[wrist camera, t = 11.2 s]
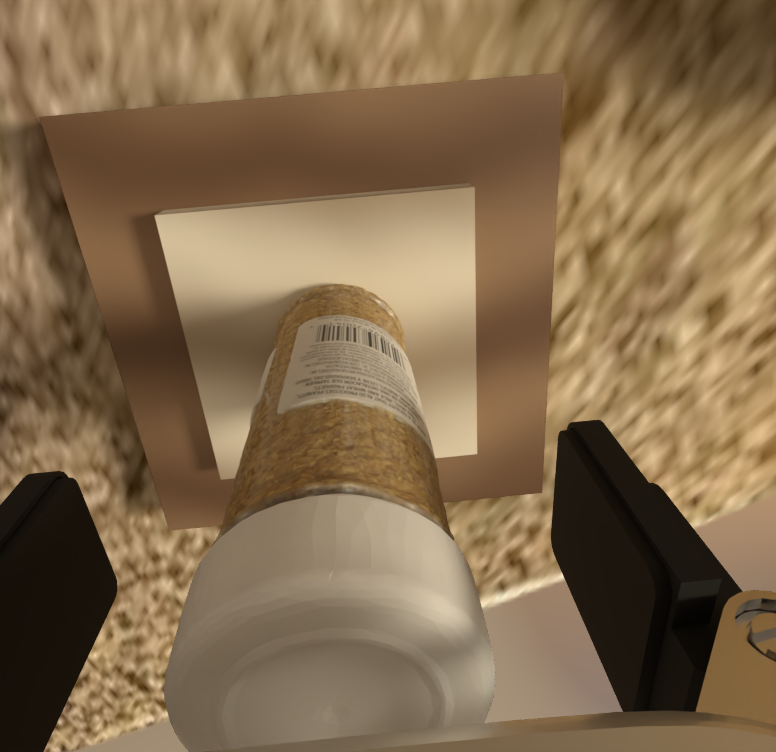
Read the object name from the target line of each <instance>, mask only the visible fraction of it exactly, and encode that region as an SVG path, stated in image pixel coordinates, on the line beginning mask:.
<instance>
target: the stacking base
mask: <svg viewBox="0 0 776 752" xmlns="http://www.w3.org/2000/svg"><path fill="white" fill-rule="evenodd" d="M563 78H564V73H552V74H541V75H529V76H517V77H505V78H493V79H482V80H470V81H458V82H446V83H434V84H423V85H411V86H399V87H387V88H375V89H364V90H352V91H340V92H328V93H316V94H304V95H293V96H281V97H269V98H257V99H245V100H234V101H222V102H210V103H198V104H186V105H175V106H163V107H151V108H139V109H127V110H116V111H104V112H92V113H80V114H68V115H57V116H45V117H39V118H40V121H41V124H42V127H43V130H44V134H45V137H46V140H47V143H48V146H49V149H50V153H51V156H52V159H53V162H54V165H55V168H56V172H57V175H58V178H59V181H60V184H61V188H62V191H63V194H64V197H65V200H66V203H67V207H68V210H69V213H70V216H71V219H72V223H73V226H74V229H75V232H76V235H77V238H78V242H79V245H80V248H81V251H82V254H83V257H84V261H85V264H86V267H87V270H88V273H89V277H90V280H91V283H92V286H93V289H94V292H95V296H96V299H97V302H98V305H99V308H100V312H101V315H102V318H103V321H104V324H105V327H106V331H107V334H108V337H109V340H110V343H111V346H112V350H113V353H114V356H115V359H116V362H117V366H118V369H119V372H120V375H121V378H122V381H123V385H124V388H125V391H126V394H127V397H128V401H129V404H130V407H131V410H132V413H133V416H134V420H135V423H136V426H137V429H138V432H139V435H140V439H141V442H142V445H143V448H144V451H145V455H146V458H147V461H148V464H149V467H150V470H151V474H152V477H153V480H154V483H155V486H156V490H157V493H158V496H159V499H160V502H161V505H162V509H163V512H164V515H165V518H166V521H167V524H168V528H169V531H171V530H180V529H190V528H200V527H210V526H220V525H222V524H223V519H224V515H225V512H226V508H227V506H228V502H229V499H230V496H231V493H232V488H233V483H234V480H235V476H236V473H237V470H238V467H239V464H240V459H241V456H242V453H243V449H244V446H245V443H246V440H247V437H248V433H249V430H250V419H251V414H252V410H253V406H254V403H255V400H256V396H257V393H258V390H259V386H260V383H261V380H262V376H263V373H264V370H265V367H266V364H267V361H268V359H269V357H270V355H271V353H272V352H273V341H274V336H275V333H276V329H277V326H278V322H279V320H280V318H281V316H282V315H283V313H284V312H285V310H286V309H287V307H288V306H289V305H290V303H291V302H292V301H294V300H295V299H296V298H298V297H300V296H301V295H303V294H305V293H307V292H309V291H310V290H311V289H314V288H319V287H322V286H326V285H331V284H345V285H353V286H357V287H361V288H363V289H365V290H366V291H369V292H372V293H374V294H375V295H377V296H378V297H379V298H380V299H382V300H384V301H385V302H386V303H387V304H388V305H389V306H390V307H391V309H392V310H393V311H394V312H395V314H396V316H397V317H398V319H399V321H400V323H401V326H402V329H403V332H404V341H405V354H406V356H407V358H408V360H409V362H410V365H411V368H412V371H413V375H414V379H415V383H416V386H417V390H418V394H419V397H420V401H421V405H422V409H423V412H424V416H425V420H426V424H427V428H428V432H429V436H430V440H431V444H432V448H433V451H434V455H435V459H436V463H437V468H438V476H439V486H440V491H441V494H442V498H443V503H446V502H456V501H465V500H475V499H485V498H495V497H505V496H514V495H524V494H534V493H542V484H543V464H544V445H545V426H546V406H547V387H548V368H549V349H550V329H551V310H552V291H553V271H554V252H555V233H556V214H557V194H558V175H559V156H560V136H561V117H562V98H563Z"/></svg>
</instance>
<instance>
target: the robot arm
mask: <svg viewBox="0 0 776 752" xmlns="http://www.w3.org/2000/svg"><path fill="white" fill-rule="evenodd" d="M551 543H552V548H553V552H554V555H555V557H556V560H557V562H558V564H559V566H560V569H561V571H562V573H563V576H564V578H565V580H566V582H567V585H568V587H569V589H570V591H571V594H572V596H573V599H574V601H575V603H576V605H577V608H578V610H579V612H580V615H581V617H582V619H583V621H584V624H585V626H586V628H587V630H588V633H589V635H590V637H591V640H592V642H593V644H594V646H595V649H596V651H597V653H598V656H599V658H600V660H601V663H602V664H603V667H604V669H605V672H606V674H607V676H608V679H609V681H610V683H611V685H612V688H613V690H614V692H615V695H616V697H617V699H618V701H619V704H620V706H621V708H622V710H623V712H612V713H601V714H587V715H575V716H562V717H550V718H538V719H525V720H513V721H503V722H492V723H482V724H472V725H462V726H452V727H441V728H431V729H421V730H411V731H400V732H390V733H380V734H370V735H360V736H350V737H340V738H331V739H321V740H311V741H301V742H292V743H282V744H272V745H262V746H253V747H243V748H234V749H224V750H215V751H205V752H776V593H775V592H771V591H760V590H751V591H745V592H742V590H741V589H740V588H739V587H738V585H737V584H736V583H735V581H734V580H733V579H732V578H731V576H730V575H729V574H728V572H727V571H726V570H725V569H724V567H723V566H722V565H721V564H720V562H719V561H718V560H717V558H716V557H715V556H714V555H713V553H712V552H711V551H710V549H709V548H708V547H707V546H706V544H705V543H704V542H703V540H702V539H701V538H700V537H699V535H698V534H697V533H696V532H695V530H694V529H693V528H692V526H691V525H690V524H689V523H688V521H687V520H686V519H685V517H684V516H683V515H682V514H681V512H680V511H679V510H678V508H677V507H676V506H675V505H674V503H673V502H672V501H671V500H670V498H669V497H668V496H667V494H666V493H665V492H664V491H663V490H662V489H661V488H660V487H659V486H658V485H657V484H654V483H649V482H648V481H647V480H646V478H645V477H644V476H643V474H642V473H641V472H640V470H639V469H638V468H637V466H636V465H635V464H634V463H633V461H632V460H631V459H630V457H629V456H628V455H627V453H626V452H625V451H624V449H623V448H622V447H621V445H620V444H619V443H618V441H617V440H616V439H615V438H614V436H613V435H612V434H611V432H610V431H609V430H608V428H607V427H606V426H605V424H604V423H603V422H602V421H601V420H591V421H581V422H571V423H570V424H569V425H568V427H567V430H565V431H560V433H559V436H558V447H557V461H556V474H555V488H554V501H553V515H552V528H551ZM116 594H117V579H116V576H115V574H114V571H113V569H112V566H111V564H110V561H109V559H108V557H107V554H106V552H105V549H104V547H103V544H102V542H101V539H100V537H99V534H98V532H97V529H96V527H95V525H94V522H93V520H92V517H91V515H90V512H89V510H88V507H87V505H86V502H85V500H84V498H83V495H82V493H81V490H80V488H79V485H78V483H77V481H76V480H75V479H74V478H68V476H67V475H66V474H65V473H64V472H61V471H55V472H45V473H34V474H29V475H27V476H25V477H24V478H23V479H22V480H21V482H20V483H19V484H18V485H17V486H16V487H15V489H14V490H13V491H12V492H11V493H10V495H9V496H8V497H7V498H6V499H5V500H4V502H3V503H2V504H1V505H0V752H43V751H44V749H45V747H46V745H47V743H48V741H49V739H50V736H51V734H52V732H53V730H54V728H55V726H56V724H57V722H58V719H59V717H60V715H61V713H62V711H63V709H64V707H65V704H66V702H67V700H68V698H69V696H70V694H71V692H72V690H73V687H74V685H75V683H76V681H77V679H78V677H79V675H80V672H81V670H82V668H83V666H84V664H85V662H86V660H87V658H88V655H89V653H90V651H91V649H92V647H93V645H94V643H95V640H96V638H97V636H98V634H99V632H100V630H101V628H102V625H103V623H104V621H105V619H106V617H107V615H108V613H109V611H110V608H111V606H112V604H113V602H114V600H115V597H116Z"/></svg>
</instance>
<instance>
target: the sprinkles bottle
mask: <svg viewBox="0 0 776 752" xmlns="http://www.w3.org/2000/svg"><path fill="white" fill-rule="evenodd" d="M494 689H495V667H494V659H493V654H492V649H491V644H490V640H489V636H488V631H487V627H486V623H485V619H484V615H483V611H482V607H481V603H480V599H479V595H478V592H477V588H476V585H475V581H474V577H473V575H472V572H471V569H470V567H469V564H468V563H467V561H466V559H465V557H464V555H463V554H462V552H461V550H460V549H459V547H458V546H457V545H456V544H455V542H454V537H453V535H452V534H451V532H450V529H449V526H448V521H447V515H446V510H445V507H444V503H443V498H442V494H441V491H440V486H439V476H438V468H437V463H436V459H435V455H434V451H433V448H432V444H431V440H430V436H429V432H428V428H427V424H426V420H425V416H424V412H423V409H422V405H421V401H420V397H419V394H418V390H417V386H416V383H415V379H414V375H413V371H412V368H411V365H410V362H409V360H408V358H407V356H406V354H405V341H404V332H403V329H402V326H401V323H400V321H399V319H398V317H397V316H396V314H395V312H394V311H393V310H392V309H391V307H390V306H389V305H388V304H387V303H386V302H385V301H384V300H382V299H380V298H379V297H378V296H377V295H375V294H374V293H372V292H369V291H366V290H365V289H363V288H361V287H357V286H353V285H345V284H331V285H326V286H322V287H319V288H314V289H311V290H310V291H309V292H307V293H305V294H303V295H301V296H300V297H298V298H296V299H295V300H294V301H292V302H291V303H290V305H289V306H288V307H287V309H286V310H285V312H284V313H283V315H282V316H281V318H280V320H279V322H278V326H277V329H276V333H275V336H274V341H273V352H272V353H271V355H270V357H269V359H268V361H267V364H266V367H265V370H264V373H263V376H262V380H261V383H260V386H259V390H258V393H257V396H256V400H255V403H254V406H253V410H252V414H251V419H250V430H249V433H248V437H247V440H246V443H245V446H244V449H243V453H242V456H241V459H240V464H239V467H238V470H237V473H236V476H235V480H234V483H233V488H232V493H231V496H230V499H229V502H228V506H227V508H226V512H225V515H224V519H223V524H222V528H221V531H220V533H219V535H218V537H217V539H216V541H215V542H214V544H213V545H212V547H211V549H210V550H209V551H208V553H207V554H206V555H205V556H204V558H203V559H202V561H201V562H200V564H199V566H198V568H197V570H196V572H195V575H194V577H193V580H192V583H191V586H190V589H189V592H188V596H187V599H186V602H185V605H184V608H183V612H182V615H181V618H180V622H179V626H178V629H177V633H176V637H175V640H174V644H173V648H172V651H171V655H170V659H169V663H168V667H167V670H166V678H165V691H164V699H165V704H166V708H167V712H168V715H169V719H170V722H171V725H172V727H173V729H174V731H175V733H176V735H177V736H178V738H179V739H180V741H181V742H182V744H183V745H184V746H185V747H186V749H188V751H189V752H205V751H215V750H224V749H234V748H243V747H253V746H262V745H272V744H282V743H292V742H301V741H311V740H321V739H331V738H340V737H350V736H360V735H370V734H380V733H390V732H400V731H411V730H421V729H431V728H441V727H452V726H462V725H472V724H482V723H484V721H485V719H486V717H487V714H488V712H489V709H490V706H491V704H492V701H493V697H494Z"/></svg>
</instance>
